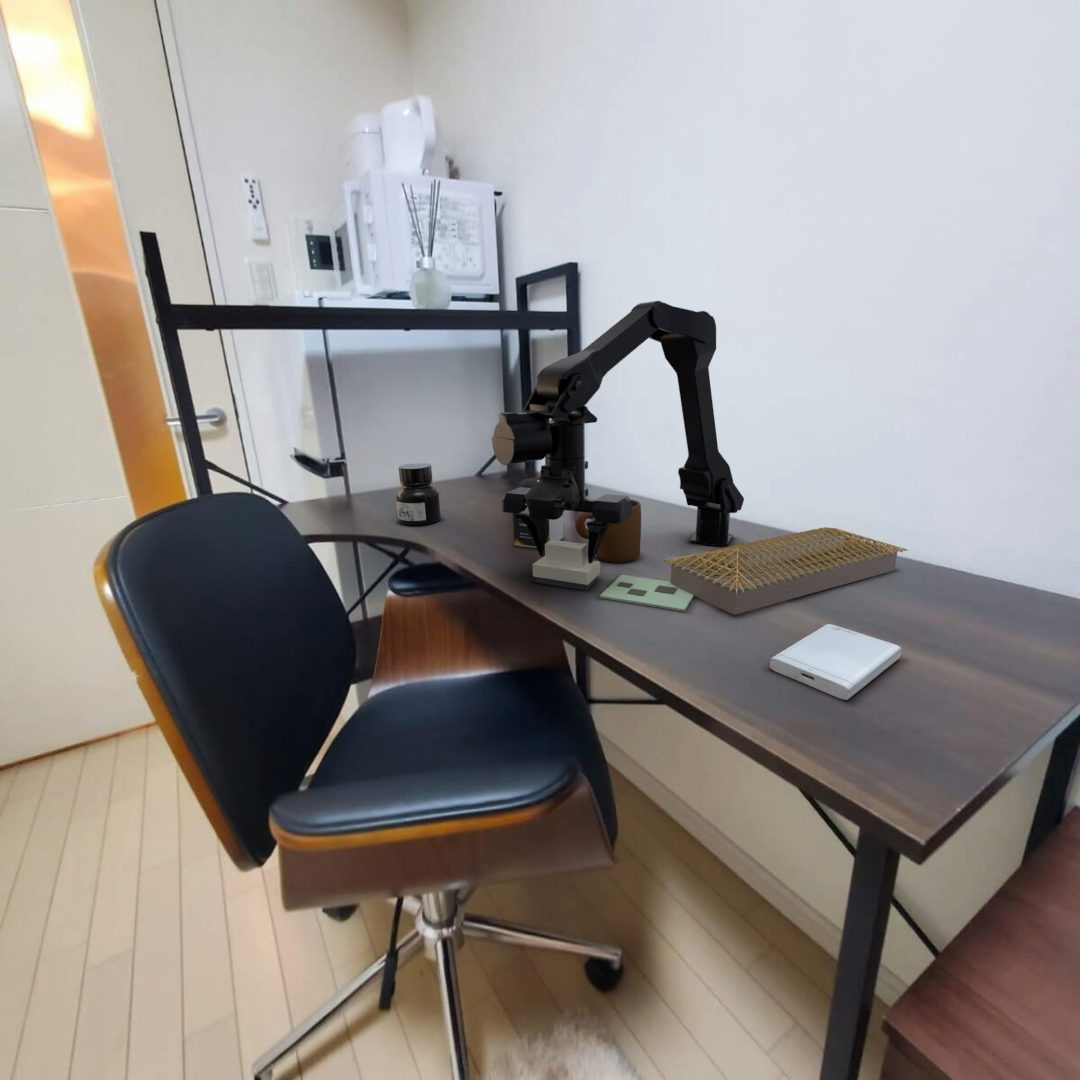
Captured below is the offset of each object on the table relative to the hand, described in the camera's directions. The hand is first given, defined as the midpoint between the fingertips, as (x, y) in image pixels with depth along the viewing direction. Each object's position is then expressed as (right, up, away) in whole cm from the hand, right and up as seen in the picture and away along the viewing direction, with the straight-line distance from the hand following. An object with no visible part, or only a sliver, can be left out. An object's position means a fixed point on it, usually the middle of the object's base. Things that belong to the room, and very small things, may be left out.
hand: (566, 559), depth 87 cm
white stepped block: (0, -3, +1) cm, 4 cm away
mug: (+7, 0, +10) cm, 13 cm away
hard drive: (+28, -11, -25) cm, 39 cm away
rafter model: (+33, -3, 0) cm, 33 cm away
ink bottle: (-30, +7, +38) cm, 48 cm away
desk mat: (+12, -5, -4) cm, 13 cm away
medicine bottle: (-4, +2, +20) cm, 21 cm away
